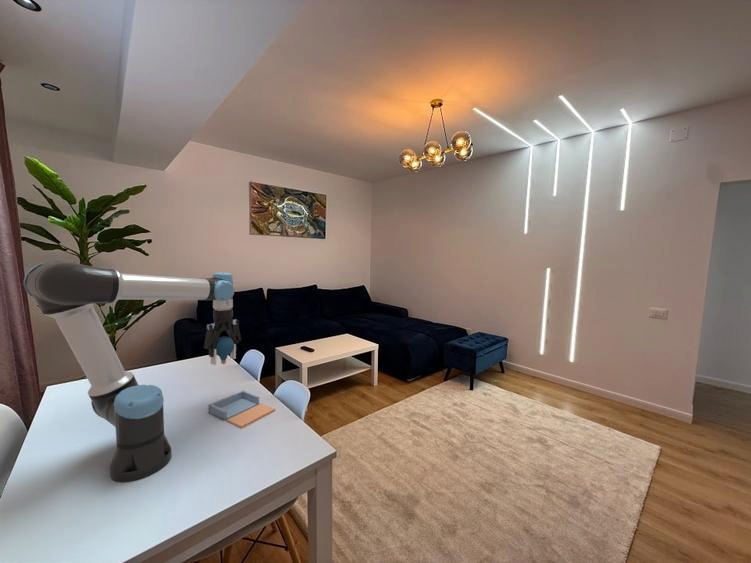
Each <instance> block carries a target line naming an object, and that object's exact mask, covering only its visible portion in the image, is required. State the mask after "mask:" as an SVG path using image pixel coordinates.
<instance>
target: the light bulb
mask: <svg viewBox="0 0 751 563" xmlns="http://www.w3.org/2000/svg"><path fill="white" fill-rule="evenodd" d="M214 349H216V356H217V357H219V360H220V362H221V364H222V365H225V364H226V363H227V358H228V356H229V355H230V353H231V352H232V351H233V349H234V342H233V340H232V339H231V338H230V337H229V336H219V338H218V340H217V343H216V346H215V348H214Z"/></svg>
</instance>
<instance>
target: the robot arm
mask: <svg viewBox="0 0 751 563" xmlns="http://www.w3.org/2000/svg"><path fill="white" fill-rule="evenodd" d="M23 287H24V289H25V291H26V293H27V294H29V296H31V297H32V298H33V299H34V300H35V302H36V303H37V305H38V307H39V310H40V311H41V312H42V314H43V316H45V317H49V318H53V319H54V320H55V321H56V324H57V326H58V328H59V329H60V331H61V333H62V335H63V337H64V338H65V341H66V342H67V344H68V346H69V347H70V349H71V351H72V352H73V355H74V358H76V361H77V362H78V364H79V365H80V367H81V370H82V372H83V373H84V375H85V377H86V378H87V380H88V383H89V384H90V388H89V389H88V390H87V395H88V396H89V398H90V400H91V402H90V403H91V409H92V410H93V412H94V413H95V415H97V417H100V418H101V419H104V420H105V421H106V422H108V423H109V424H111V425H112V426H114V428H115V437H116V438H115V441H116V447H115V451H114V454H113V457H112V460H111V463H110V466H109V477H110V479H111V480H114V481H115V482H132V481H137V480H139V479H144V478H146V477H148V476H151V475H153V474H155V473H157V472H158V471H160V470H161V469H162V468H164V467H165V466H166V465H167V464H168V463H169V462H170V461H171V459H172V456H173V455H172V453H173V452H172V446H171V444H170V443H169V441H168V438H167V437H166V435H165V423H164V422H165V420H164V418H165V417H164V416H165V414H164V401H165V400H164V396H163V395H164V394H163V391H162V389H161V388H160V387H158V386H156V385H153V384H148V385H147V384H139V383H138V382H137V378H136V377H135V375H134V373H133V372H132V371H128V370H125V368H124V366H123V364H122V362H121V361H120V358H119V357H118V354H117V352H116V350H115V348H114V345H113V344H112V342H111V340H110V338H109V336H108V334H107V331H106V330H105V328H104V326H103V323H102V322H101V320H100V317H99V316H98V314H97V312H96V309H95V307H94V305H95V304H113V303H115V302H117V301H118V300H129V301H130V300H132V301H133V300H135V301H136V300H142V301H143V300H146V301H147V300H148V301H149V300H150V301H151V300H155V301H156V300H157V301H164V300H165V301H168V300H169V301H174V300H179V301H185V300H186V301H187V300H188V301H195V300H196V301H212V308H213V310H212V316H213V317H212V318H213V322H212V323H210V324H209V323H207V324H206V325H205V327H206V333H205V338H204V345H203V348H204V349H205V350H208V357H210V364H211V365H214V366H216V365H217V355H216V349H214V348H215V346H216V343H217V340H218V338H219V337H220V335H221V334H222V333H223V332H224V331H226V334H227V335H228V337H229V338H231V339H232V340H233V342H234V349H233V351H232V352H231V353H230V354H229V355H230V357H229V358H230V359H232V360H235V359H237V357H236V356H237V353H236V352H237V351H238V344H239V343H240V342H241V341H242V336H241V331H240V326H239V324H240V320H239V319H233V316H234V310H233V307H234V302H233V301H234V299H233V298H234V297H233V296H234V294H235V286H234V279H233V275H232V273H231V272H214V273H213V274H212V277H206V278H205V277H204V278H203V277H200V278H199V277H198V278H195V277H194V278H191V277H178V276H177V277H176V276H167V275H166V276H164V275H151V274H138V273H137V274H136V273H133V274H132V273H123V272H121V273H120V272H119V271H118V270H117V269H112V268H101V267H96V266H92V265H86V264H82V263H77V262H69V261H67V262H66V261H63V260H51V261H45V262H42V263H38V264H37V265H35V266H33V267H32V268H30V269H29V270H28V271H27V272H26V274H25V275H24V279H23Z"/></svg>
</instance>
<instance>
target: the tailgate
mask: <svg viewBox="0 0 751 563" xmlns="http://www.w3.org/2000/svg"><path fill="white" fill-rule="evenodd" d="M275 412H276V408H274V407H272V406H269V405H266V404H263V403H259V404H258V405H256V406H254V407H252V408H250V409H248V410H246V411H244V412H242V413H239V414H237V415H235V416H233V417H231V418H229V419H227V420H225V422H227V423H229V424H231V425H233V426H234V427H238V428H240V429H245V428H246V427H247V426H250V425H252V424H253V423H255V422H257V421H259V420H261V419H263V418H265V417H267V416H269V415H271V414H272V413H275Z"/></svg>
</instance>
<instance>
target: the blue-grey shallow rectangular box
mask: <svg viewBox="0 0 751 563" xmlns="http://www.w3.org/2000/svg"><path fill="white" fill-rule="evenodd" d="M258 404H260V396H259V395H256V394H253V393H251V392H249V391H246V390H241V391H238V392H236V393H233V394H231V395H229V396H226V397H224V398H221V399H218V400H216V401H214V402H211V403H210V404H208V413H209V414H211V415H213V416H214V417H216V418H219V419H220V420H223V421H225V422H226V420H227V419H229V418H231V417H233V416H235V415H237V414H240V413H242V412H244V411H246V410H248V409H250V408H252V407H254V406H256V405H258Z"/></svg>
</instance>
